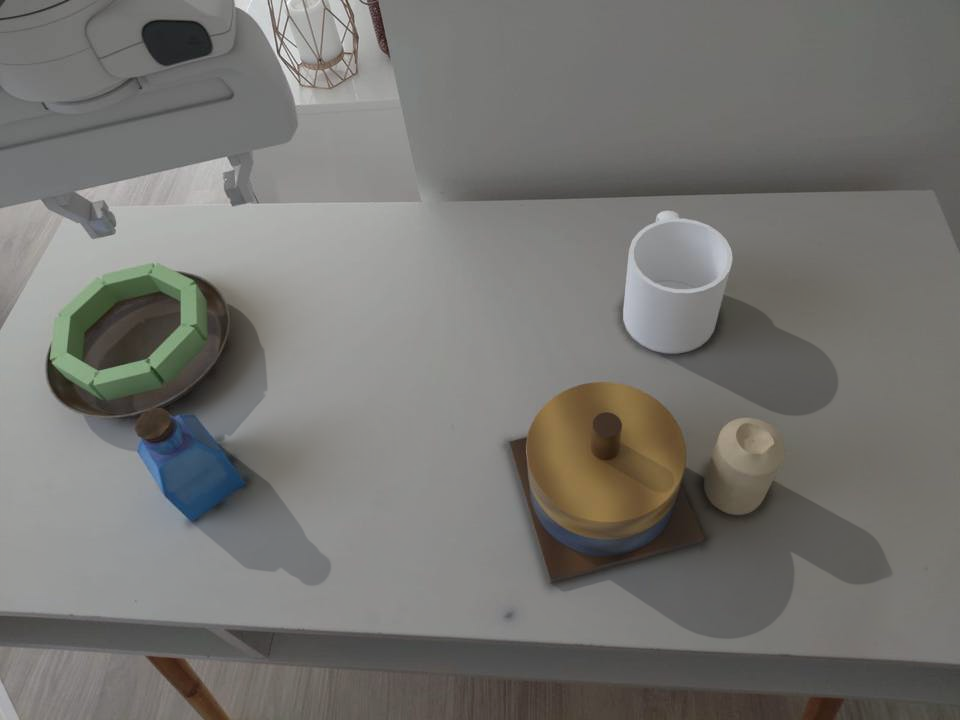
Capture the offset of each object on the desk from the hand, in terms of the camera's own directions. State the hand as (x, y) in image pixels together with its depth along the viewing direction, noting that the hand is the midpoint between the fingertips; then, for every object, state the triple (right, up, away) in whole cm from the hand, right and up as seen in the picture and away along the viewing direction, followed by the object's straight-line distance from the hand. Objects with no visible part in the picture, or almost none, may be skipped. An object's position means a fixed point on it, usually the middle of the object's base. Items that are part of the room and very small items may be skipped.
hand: (174, 214), depth 51 cm
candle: (+45, -22, +20) cm, 54 cm away
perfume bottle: (-7, -22, +26) cm, 35 cm away
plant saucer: (-17, -9, +36) cm, 41 cm away
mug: (+42, -4, +33) cm, 53 cm away
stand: (+32, -23, +21) cm, 45 cm away
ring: (-18, -6, +32) cm, 37 cm away
